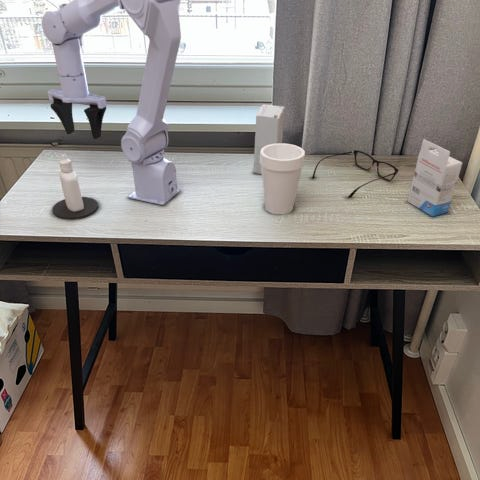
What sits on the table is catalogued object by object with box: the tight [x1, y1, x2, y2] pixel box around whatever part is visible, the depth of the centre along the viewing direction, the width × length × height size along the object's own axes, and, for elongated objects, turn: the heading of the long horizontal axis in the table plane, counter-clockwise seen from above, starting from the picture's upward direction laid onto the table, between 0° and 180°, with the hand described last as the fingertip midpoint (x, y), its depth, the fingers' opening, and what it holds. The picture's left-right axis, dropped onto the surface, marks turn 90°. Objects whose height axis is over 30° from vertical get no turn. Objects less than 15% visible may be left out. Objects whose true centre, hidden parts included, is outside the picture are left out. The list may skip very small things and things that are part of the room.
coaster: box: [51, 196, 99, 220], centre depth 113 cm, size 10×10×1 cm
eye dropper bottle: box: [58, 153, 84, 212], centre depth 109 cm, size 4×6×12 cm
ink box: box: [407, 138, 463, 217], centre depth 110 cm, size 8×5×15 cm, turn 26°
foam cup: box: [260, 142, 306, 215], centre depth 109 cm, size 10×9×13 cm
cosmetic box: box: [253, 103, 286, 175], centre depth 125 cm, size 8×6×15 cm
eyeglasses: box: [311, 149, 400, 199], centre depth 124 cm, size 16×16×4 cm
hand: (83, 135), depth 119 cm, fingers open, 7 cm apart
